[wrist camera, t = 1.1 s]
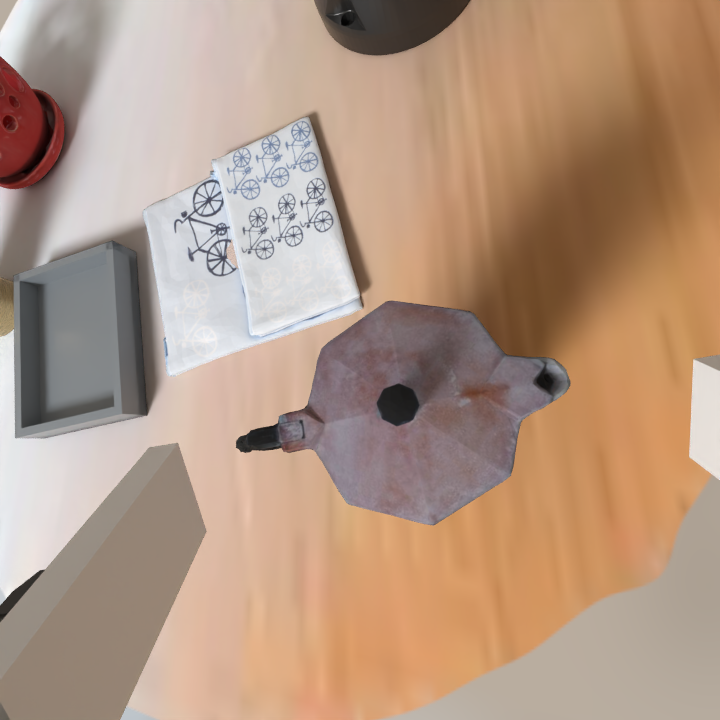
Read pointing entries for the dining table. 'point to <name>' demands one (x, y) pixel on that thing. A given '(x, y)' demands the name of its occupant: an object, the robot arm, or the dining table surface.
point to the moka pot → (415, 411)
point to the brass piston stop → (6, 306)
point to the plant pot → (26, 131)
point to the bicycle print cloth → (250, 251)
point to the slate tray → (78, 343)
